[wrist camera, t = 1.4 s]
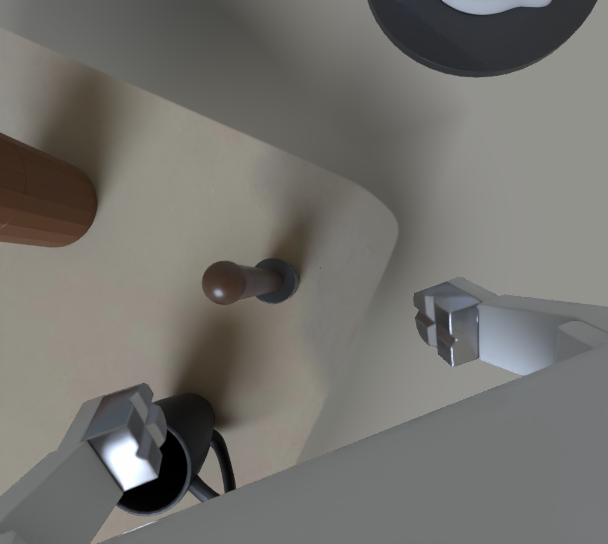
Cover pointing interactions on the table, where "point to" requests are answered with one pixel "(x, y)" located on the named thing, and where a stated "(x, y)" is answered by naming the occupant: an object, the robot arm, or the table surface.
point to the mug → (181, 458)
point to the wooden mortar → (42, 197)
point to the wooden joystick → (250, 281)
